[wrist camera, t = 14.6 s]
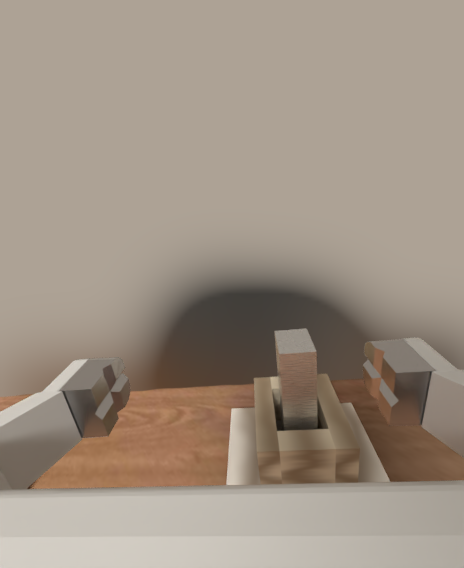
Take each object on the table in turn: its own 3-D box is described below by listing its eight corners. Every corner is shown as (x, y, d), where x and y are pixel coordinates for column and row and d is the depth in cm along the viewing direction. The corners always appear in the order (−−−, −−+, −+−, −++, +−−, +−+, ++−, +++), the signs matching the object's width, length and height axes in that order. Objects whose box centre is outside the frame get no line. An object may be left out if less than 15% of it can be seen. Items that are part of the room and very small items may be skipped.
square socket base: (225, 525, 30) (214, 471, 27) (232, 414, 45) (226, 371, 42) (406, 524, 28) (416, 465, 25) (351, 408, 43) (352, 363, 40)
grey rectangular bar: (286, 459, 33) (279, 354, 28) (281, 426, 38) (274, 331, 33) (318, 458, 33) (316, 351, 28) (309, 424, 38) (306, 328, 32)
